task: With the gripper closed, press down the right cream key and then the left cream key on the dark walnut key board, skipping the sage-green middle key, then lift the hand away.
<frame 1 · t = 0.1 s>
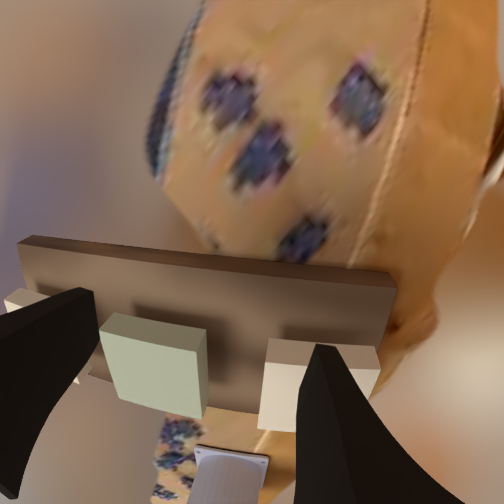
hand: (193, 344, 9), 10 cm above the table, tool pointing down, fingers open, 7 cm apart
key 1: (313, 392, 16), point 4 cm above the table, slide at 0.0 cm
key 2: (46, 335, 18), point 4 cm above the table, slide at 0.0 cm
key board: (179, 327, 21), on the table
key middle: (156, 368, 17), point 4 cm above the table, slide at 0.0 cm
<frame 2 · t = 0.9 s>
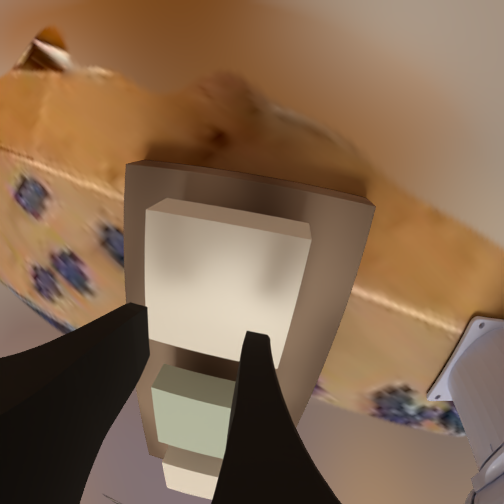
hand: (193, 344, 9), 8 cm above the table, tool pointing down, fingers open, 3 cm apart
key 1: (221, 285, 12), point 5 cm above the table, slide at 0.0 cm
key 2: (202, 476, 20), point 4 cm above the table, slide at 0.0 cm
key board: (222, 371, 20), on the table
key middle: (207, 419, 16), point 4 cm above the table, slide at 0.0 cm
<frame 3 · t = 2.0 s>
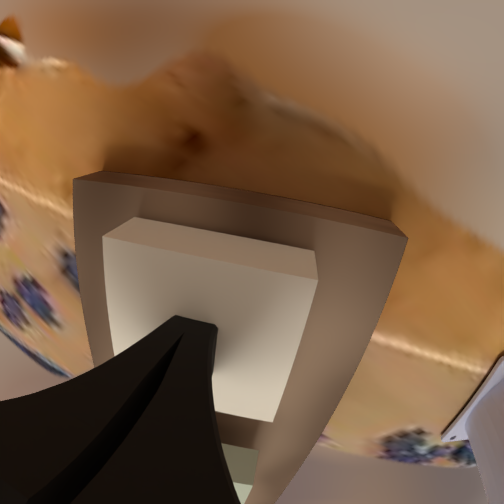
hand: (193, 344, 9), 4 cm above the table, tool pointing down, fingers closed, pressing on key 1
key 1: (203, 327, 10), point 3 cm above the table, slide at 1.3 cm, touching gripper
key board: (208, 416, 16), on the table
key middle: (189, 476, 12), point 4 cm above the table, slide at 0.0 cm
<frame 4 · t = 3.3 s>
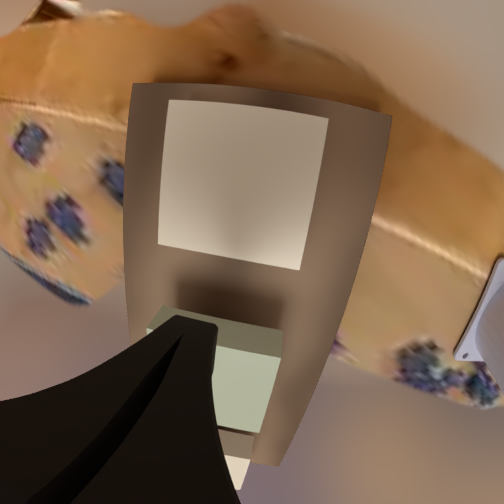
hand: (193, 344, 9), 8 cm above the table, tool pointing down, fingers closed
key 1: (239, 180, 12), point 3 cm above the table, slide at 1.4 cm
key 2: (206, 457, 18), point 4 cm above the table, slide at 0.0 cm
key board: (229, 326, 19), on the table
key middle: (212, 375, 15), point 4 cm above the table, slide at 0.0 cm
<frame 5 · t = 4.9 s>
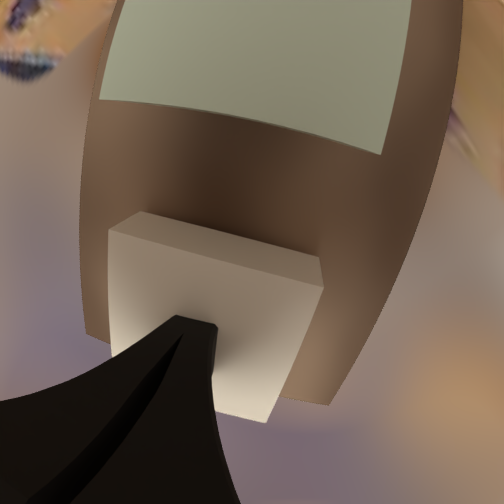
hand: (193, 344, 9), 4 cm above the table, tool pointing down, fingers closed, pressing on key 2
key 2: (203, 326, 10), point 3 cm above the table, slide at 1.1 cm, touching gripper
key board: (277, 50, 9), on the table
key middle: (266, 1, 5), point 4 cm above the table, slide at 0.0 cm
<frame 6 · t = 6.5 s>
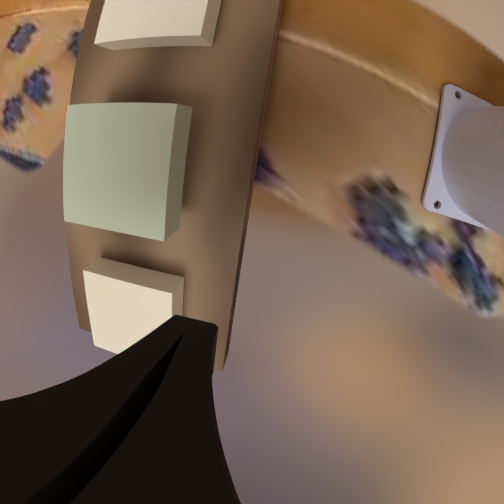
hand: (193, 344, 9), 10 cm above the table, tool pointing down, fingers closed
key 2: (133, 315, 18), point 3 cm above the table, slide at 1.4 cm
key board: (158, 156, 17), on the table
key middle: (120, 165, 13), point 4 cm above the table, slide at 0.0 cm
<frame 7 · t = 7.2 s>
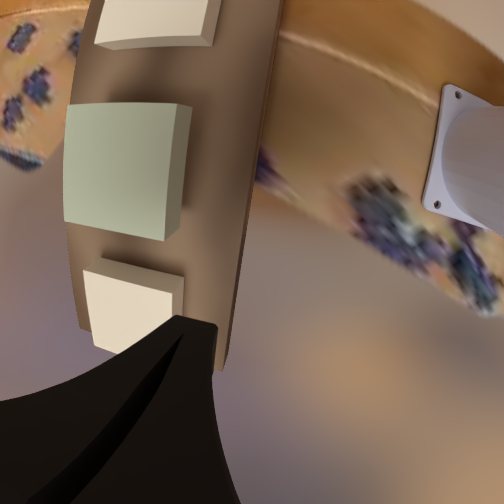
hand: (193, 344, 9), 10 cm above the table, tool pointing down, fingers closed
key 2: (133, 315, 18), point 3 cm above the table, slide at 1.4 cm
key board: (158, 156, 17), on the table
key middle: (120, 165, 13), point 4 cm above the table, slide at 0.0 cm
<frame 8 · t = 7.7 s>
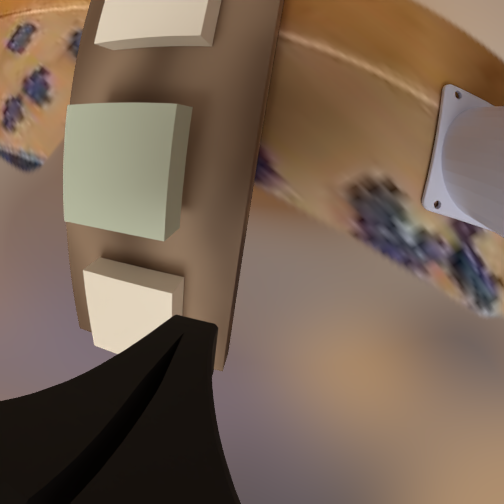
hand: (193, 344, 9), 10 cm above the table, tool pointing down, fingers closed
key 2: (133, 315, 18), point 3 cm above the table, slide at 1.4 cm
key board: (158, 156, 17), on the table
key middle: (120, 165, 13), point 4 cm above the table, slide at 0.0 cm
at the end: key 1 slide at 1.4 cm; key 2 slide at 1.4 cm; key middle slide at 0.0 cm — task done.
